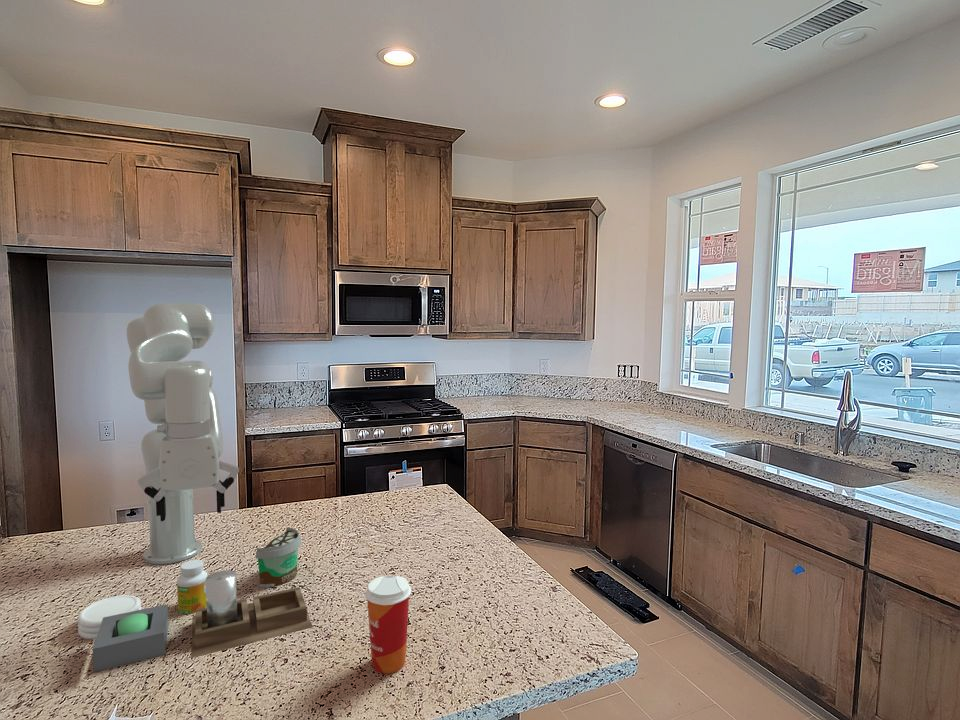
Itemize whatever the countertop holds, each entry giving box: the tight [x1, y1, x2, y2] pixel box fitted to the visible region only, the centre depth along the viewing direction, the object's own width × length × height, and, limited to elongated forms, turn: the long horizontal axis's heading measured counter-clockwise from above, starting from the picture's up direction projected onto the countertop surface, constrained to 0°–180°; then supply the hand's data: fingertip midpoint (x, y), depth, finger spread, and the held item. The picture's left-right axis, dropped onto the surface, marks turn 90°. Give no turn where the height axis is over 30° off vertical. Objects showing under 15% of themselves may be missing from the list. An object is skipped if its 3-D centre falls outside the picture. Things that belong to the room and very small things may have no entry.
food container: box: [255, 527, 302, 588], centre depth 117 cm, size 12×6×10 cm, turn 168°
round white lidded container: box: [76, 594, 142, 640], centre depth 101 cm, size 10×10×4 cm
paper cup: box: [364, 575, 412, 675], centre depth 90 cm, size 8×8×14 cm
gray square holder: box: [92, 603, 170, 673], centre depth 92 cm, size 10×10×5 cm
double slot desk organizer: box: [190, 586, 313, 659], centre depth 100 cm, size 14×20×4 cm
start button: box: [117, 613, 148, 636], centre depth 92 cm, size 4×4×4 cm
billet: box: [206, 569, 238, 629], centre depth 98 cm, size 5×5×10 cm
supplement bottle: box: [176, 559, 209, 615], centre depth 105 cm, size 5×5×10 cm
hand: (191, 514), depth 104 cm, fingers open, 9 cm apart
